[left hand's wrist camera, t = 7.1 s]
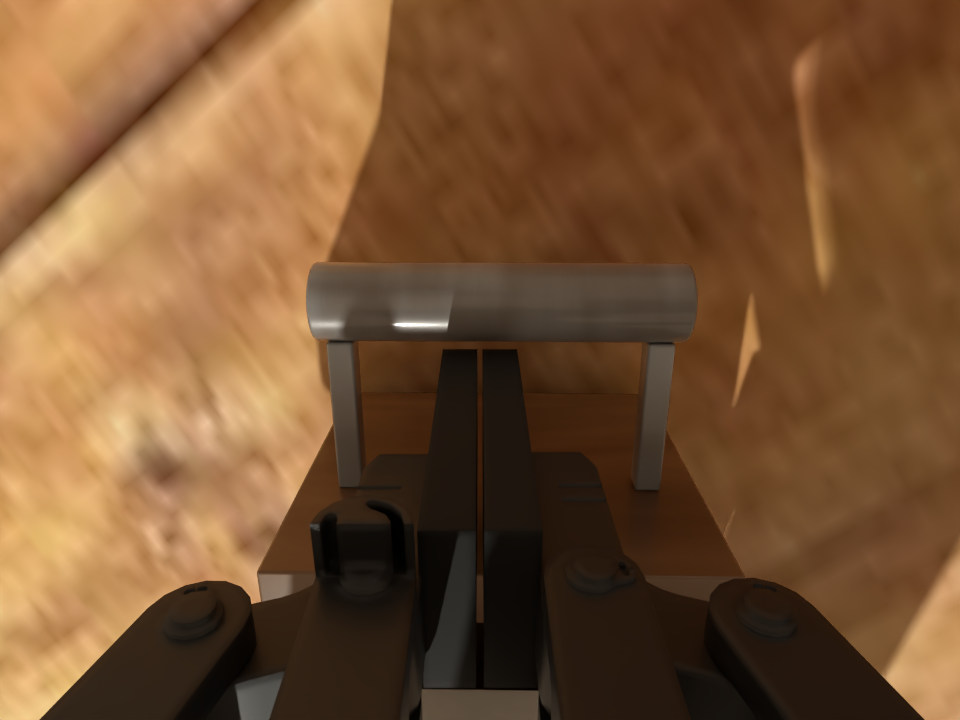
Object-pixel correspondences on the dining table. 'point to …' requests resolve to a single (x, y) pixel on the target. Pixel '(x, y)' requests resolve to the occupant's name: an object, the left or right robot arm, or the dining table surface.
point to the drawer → (551, 417)
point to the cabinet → (479, 704)
